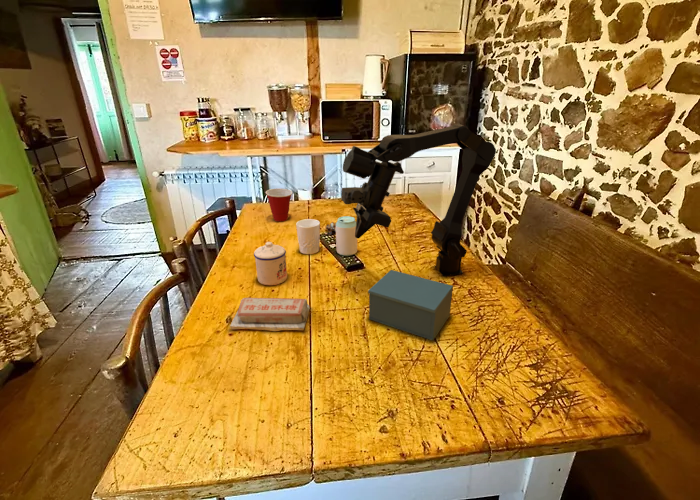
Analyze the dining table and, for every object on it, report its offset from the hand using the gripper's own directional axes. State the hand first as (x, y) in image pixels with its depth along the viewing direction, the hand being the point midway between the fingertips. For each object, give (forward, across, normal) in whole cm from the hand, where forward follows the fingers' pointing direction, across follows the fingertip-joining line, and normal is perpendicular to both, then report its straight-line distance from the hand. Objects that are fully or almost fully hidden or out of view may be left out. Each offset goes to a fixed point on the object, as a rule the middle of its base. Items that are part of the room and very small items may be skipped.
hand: (356, 237), depth 107 cm
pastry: (+12, -41, +11) cm, 44 cm away
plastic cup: (+19, -62, -7) cm, 65 cm away
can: (+13, -22, +9) cm, 27 cm away
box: (+11, +20, +13) cm, 26 cm away
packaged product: (+24, +10, -18) cm, 31 cm away
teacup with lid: (+22, -12, -15) cm, 30 cm away
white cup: (+17, -28, -2) cm, 33 cm away
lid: (+3, +20, +10) cm, 22 cm away
